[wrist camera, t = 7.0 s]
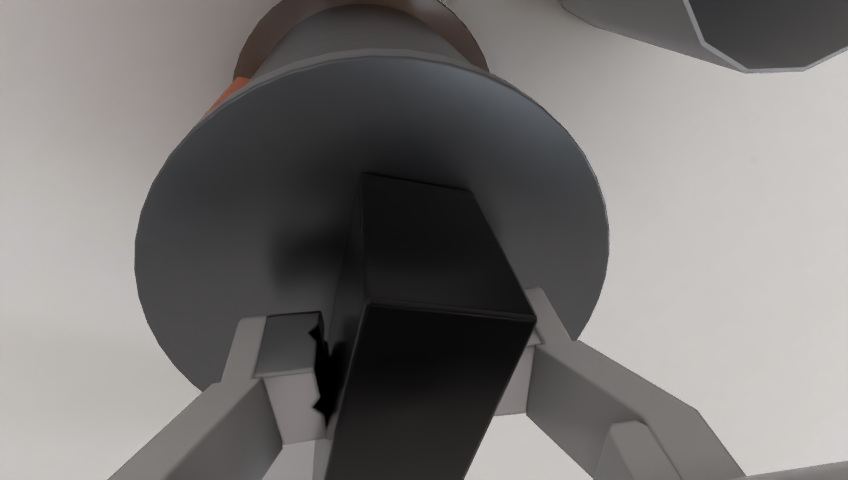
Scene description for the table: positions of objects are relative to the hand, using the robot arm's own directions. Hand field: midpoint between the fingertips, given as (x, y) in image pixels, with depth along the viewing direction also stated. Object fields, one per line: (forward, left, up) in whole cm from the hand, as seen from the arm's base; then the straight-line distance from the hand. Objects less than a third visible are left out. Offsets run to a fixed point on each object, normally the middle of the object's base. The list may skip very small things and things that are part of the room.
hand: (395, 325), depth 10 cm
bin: (0, 0, -14) cm, 14 cm away
